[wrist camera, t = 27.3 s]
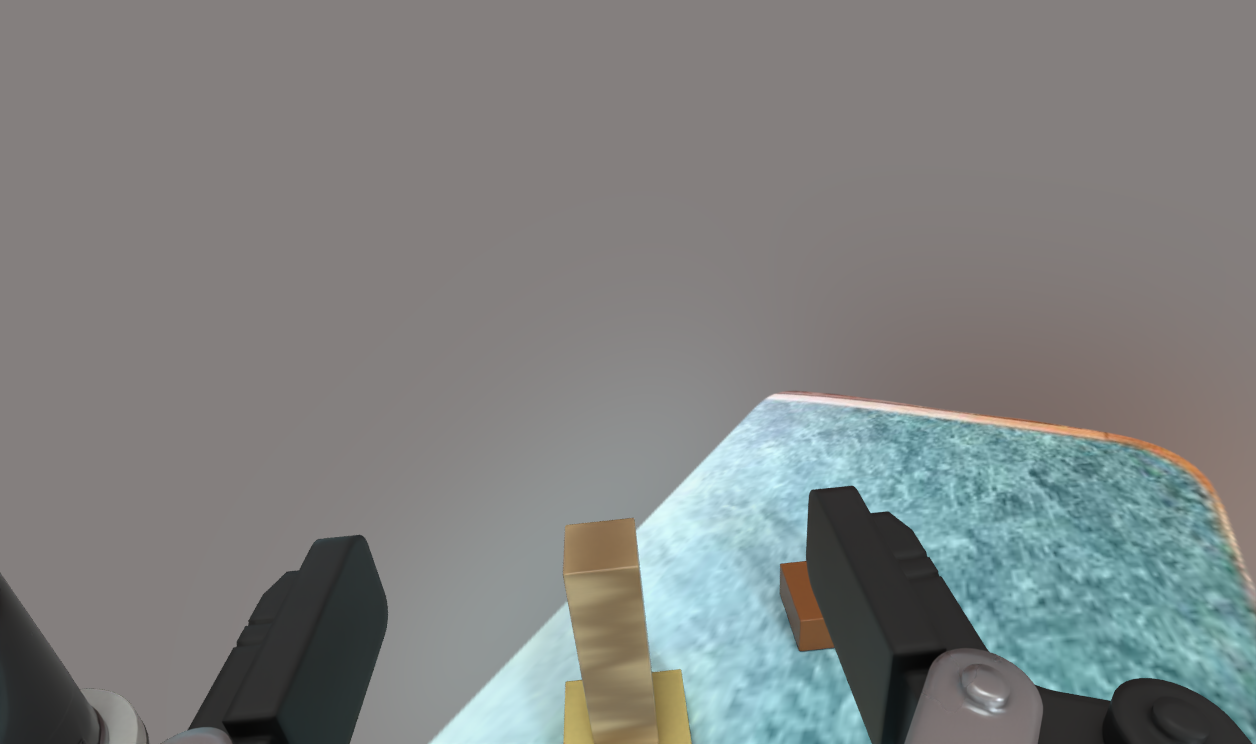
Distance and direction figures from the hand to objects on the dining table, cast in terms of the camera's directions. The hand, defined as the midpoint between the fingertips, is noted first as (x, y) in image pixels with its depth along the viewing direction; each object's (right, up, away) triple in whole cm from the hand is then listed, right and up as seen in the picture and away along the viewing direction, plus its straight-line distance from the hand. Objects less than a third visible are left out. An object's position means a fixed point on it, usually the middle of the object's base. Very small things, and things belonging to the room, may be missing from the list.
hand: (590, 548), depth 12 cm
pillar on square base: (+1, -15, +22) cm, 27 cm away
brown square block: (+12, -11, +28) cm, 32 cm away
